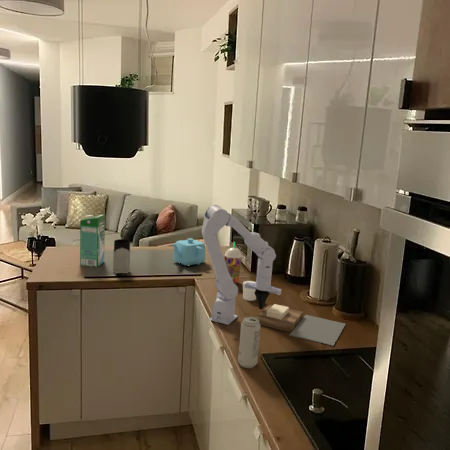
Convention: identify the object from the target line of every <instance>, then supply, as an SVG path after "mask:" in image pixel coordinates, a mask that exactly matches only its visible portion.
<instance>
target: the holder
mask: <svg viewBox="0 0 450 450" xmlns="http://www.w3.org/2000/svg"><path fill="white" fill-rule="evenodd" d="M112 255H113V259H112V262H113V263H112V264H113V265H112V267H113V268H112V271H113V272H117V273H127V274H129V273H128V272H130V271H131V240H129V239H122V238H121V239H120V238H119V239H115V240H113V254H112ZM112 271H111V272H112ZM113 272H112V273H113Z"/></svg>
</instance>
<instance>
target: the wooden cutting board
mask: <svg viewBox="0 0 450 450" xmlns="http://www.w3.org/2000/svg"><path fill="white" fill-rule="evenodd" d="M273 305H274V304H268V306H266V307H265V308H263V309H262V311H261V312H259V314H258V315H257V316H255V317H256V318H258V319H259V323H260V325H261V326H265V327H268V328H272V329H276V330H280V331H284V332H289V333H291V332H292V331H293V330H294V328H295V327H296V326H297V325H298V324H299V322H300V321H301V320H302V319H303V317H304V316H303V315H304V311H301V310H296V309H292V308H289V311H288V313H287V314H286V315H285V316H284V317H283V318H282V319H277V318H272V317H268V316H266V315H267V311H268V310H269V309H270V308H271V307H272V306H273Z"/></svg>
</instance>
